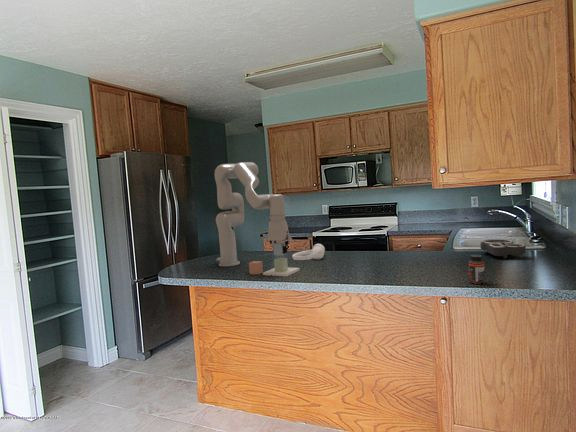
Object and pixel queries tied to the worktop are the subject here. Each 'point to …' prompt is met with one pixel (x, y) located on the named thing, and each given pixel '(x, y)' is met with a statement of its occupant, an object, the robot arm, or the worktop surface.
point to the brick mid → (278, 248)
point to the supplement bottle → (476, 270)
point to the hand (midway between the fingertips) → (280, 252)
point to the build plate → (277, 273)
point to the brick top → (256, 267)
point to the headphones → (315, 253)
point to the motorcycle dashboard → (503, 247)
